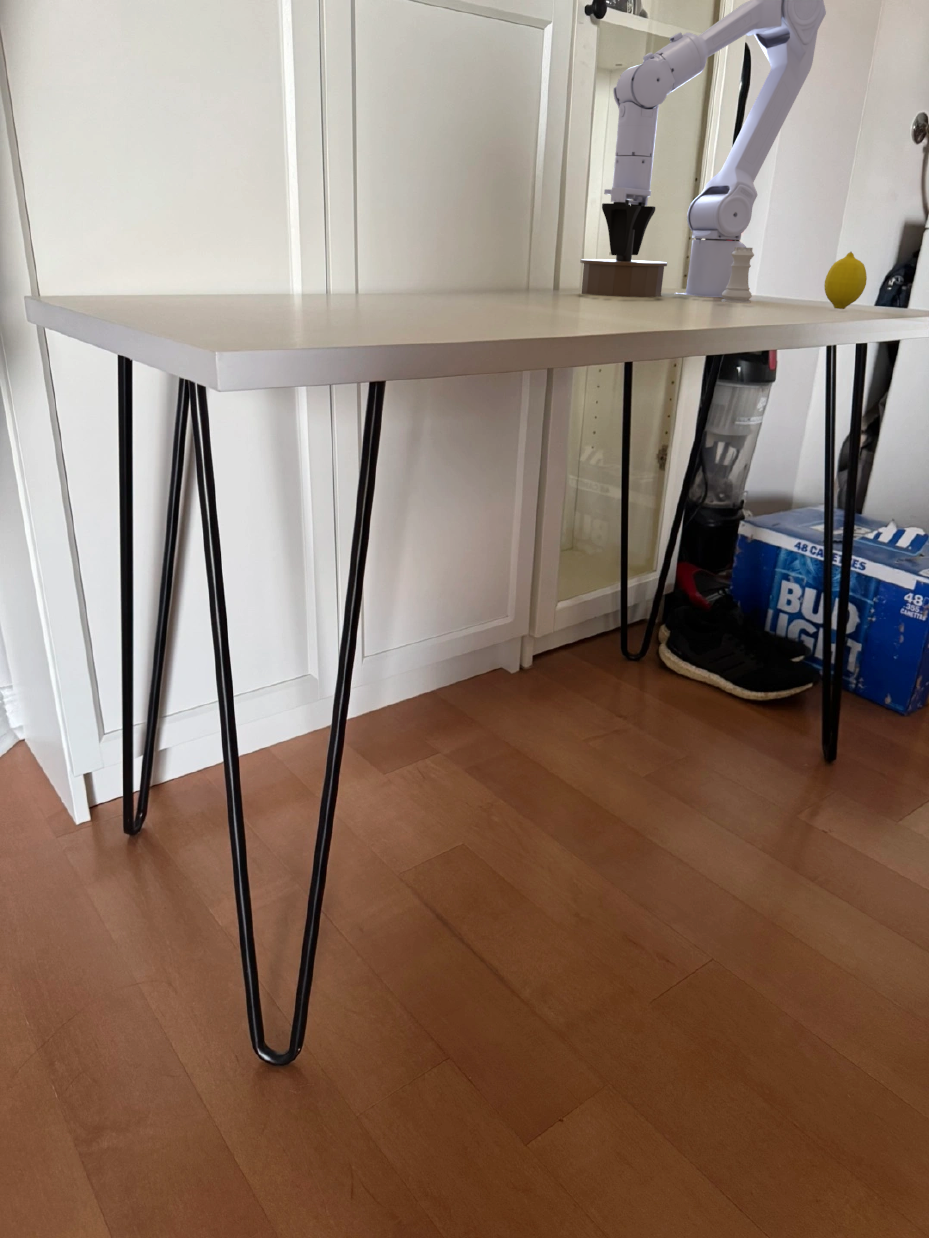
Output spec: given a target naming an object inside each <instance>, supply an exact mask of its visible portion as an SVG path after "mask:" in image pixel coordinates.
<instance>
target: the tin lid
mask: <svg viewBox="0 0 929 1238" xmlns="http://www.w3.org/2000/svg"><path fill="white" fill-rule="evenodd" d="M633 240H634V230H632V231H631V236H630V240H629V245H628V249H627V252H626V255H625V256H617V255H615V258H614V259H611V258H607V259H606V258H581V259H580V260H579V263H580V264H584V263H585V264H599V265H618V266H651V267H662V266H664V267H667V266H668V262H666V261H656V260H655V261H653V260H637V259H635V260H634V259H633V255H632V250H633Z"/></svg>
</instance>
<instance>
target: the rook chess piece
mask: <svg viewBox="0 0 929 1238" xmlns="http://www.w3.org/2000/svg"><path fill="white" fill-rule="evenodd" d="M746 247H747V246H746ZM746 247H744V248H743V247H735V249H734V251H733V253H732V254H731V255H732V257H733V264H732V265H731V266H732V273H731V276H730V280H729V283H728V285H727V287H726V290H725V291H724V292H723V293H722V297H721V298H722V299H721V300H720V302H725V303H733V304H734V303H736V304H737V303H738V304H750V303H751V304H752V302H751V301H750V299H751V298H752V297H753V295H752V293H751V291H750V287H749V286H750V285H749V272H750V268H751V266H752V265H751V260H752V259H753V257H754V256H755V253H754V252H753V249H754V248H753V247H747V248H746Z"/></svg>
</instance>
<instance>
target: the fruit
mask: <svg viewBox="0 0 929 1238" xmlns="http://www.w3.org/2000/svg"><path fill="white" fill-rule="evenodd" d="M866 269H867V268H866V266H865V264H864V263H863V262H862V261H861V260H859V259H858V258H856V257H855V254H854V253H853V252H852V251H849V252H848V253H847V254H846V255H845V256H844V257H843V258H840V259H838V260H837V261H835V262H834V263H833V264H832V265H831V267H830V268H829V270H828V271H827V274H826V276H825V280H824V284H823V285H824V287H823V288H824V293H825V296H826V298H827V299H828V301H829V302H830V303H831V304H832V305H833V308H834V309H839V310H845V309H846V308H847V307H849V306H850V305H851V304H853V303H855V302H856V301H857V300H858V299H859V298H860V297H861V296H862V294H863V293H864V290H865V288H866V286H867V279H868V277H867V270H866Z"/></svg>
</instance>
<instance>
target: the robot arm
mask: <svg viewBox="0 0 929 1238" xmlns="http://www.w3.org/2000/svg"><path fill="white" fill-rule="evenodd" d="M824 1H825V0H747V1H746V2H743V3H742V4H740V5H739V6H738V7H736V8H735V9H733V10H731V12H729V13H728V14H727V15H725V16H723V17H722V18H721V19H720V20H718V21H717V22H715V23H714V24H713V25H711V26H709V28H707V29H706V30H704V31H703V32H701V33H699V34H698V35H697V34H695V33H692V32H684V33H682V32H681V31H680V32H677V33H675V34H673V35H672V36H670V37H669V43H667V44H666V45H664V46H663V47H662V48H660V49H659V50H657V51H656V52H654V53H653V52H652V51H651V52H648V53H647V54H645V55H643V57H642V59H643V62H642V63H640V64H638V65H634V66H631V67H628V68H627V69H625V70H624V71H622V73H621V74H620V75H619V76H620V77H619V78H618V79H617V82H616V86H615V87H613V90H612V92H613V93H612V94H613V99H614V101H615V103H616V106H617V107H618V119H617V131H616V144H615V153H614V165H613V177H612V187H611V188H609V189H608V188H607V189H604V191H603V194H604V195H606V196H607V195H608V196H610V202H611V203H609V202H608V203H607V202H606V203H605V202H603V203H602V204H601V209H602V210H601V211H602V212H603V215H604V218H605V222H606V225H607V231H608V239H609V240H608V241H609V250H610V255H611V256H616V255H617V256H625V255H626V252H627V249H628V245H629V240H630V236H631V231H632V230H634V240H633V250H632V256H638V255H639V252H640V250H641V247H642V243H643V239H644V236H645V234H646V230H647V227H648V225H649V223H650V221H651V219H652V217H653V215H654V214H655V212H656V206H651V205H649V206H648V203H649V198H650V197H651V196H652V190H651V185H652V176H653V165H654V157H655V147H656V146H655V145H656V137H657V128H658V116H659V106H660V105H662V104H663V103H664V102H665V100H666V98H667V96H668V95H670V94H671V93H672V92H674V91H676V90H677V89H679V88H680V87H682V86H683V85H685V84H686V83H687V82H690V81H691V80H692V79H694V78H695V77H697V76H698V75H700V74H702V73H703V71H704V70H705V68H706V66H707V65H706V64H707V60H708V58H709V57H711V56H713V55H714V54H716V53H717V52H719V51H721V50H722V49H724V48H726V47H728V46H729V45H730V44H732V43H734V42H736V41H737V40H739V39H741V38H743V37H744V36H747V37H751V36H754V37H755V39H756V41H757V43H758V45H759V47H760V48H761V50H762V52H763V53H764V55H765V57H766V59H767V61H768V62H769V65H770V71H769V73H768V75H767V77H766V78H765V80H764V82H763V85H762V87H761V89H760V91H759V92H758V95H757V97H756V99H755V101H754V103H753V105H752V107H751V109H750V111H749V113H748V115H747V116H746V119H745V121H744V123H743V125H742V127H741V129H740V131H739V133H738V135H737V137H736V139H735V141H734V143H733V144H732V147H731V149H730V151H729V153H728V155H727V157H726V160H725V161H724V163H723V165H722V167H721V169H720V171H718V173H716V174H715V175H714V176H713V177H712V178H711V179H710V180H708V181H707V182H706V183H705V186H704V188H703V189H702V191H701V192H700V193H699V195H697V196H696V197H695V198H694V199H693V200H692V201H691V202H690V204H689V206H688V209H687V213H686V221H687V226H688V228H689V230H690V231H691V232H692V233H691V247H690V256H689V264H688V272H687V278H686V279H687V280H686V288H685V292H674V293H673V294H674V295H685V296H695V297H704V298H705V297H706V298H723V297H722V293H723V292H724V291H725V290H726V287H727V285H728V283H729V280H730V276H731V273H732V266H731V265H732V264H733V257H732V255H731V254H732V253H733V251H734V249H735V247H743V248H744V247H746V248H748V247H747V246H746V245H745V244H744V243H743V242H741V241H740V240H741V237H742V234H743V233H744V232H745V231H746V229H747V228H748V227H749V225H750V223H751V221H752V220H751V219H752V217H753V207H754V204H755V201H756V199H757V198H758V192H757V189H756V187H755V184H754V182H755V180H756V179H757V176H758V174H759V172H760V170H761V168H762V167H763V164H764V162H765V160H766V159H767V156H768V155H769V153H770V151H771V149H772V147H773V144H774V143H775V140H776V139H777V137H778V136H779V135H778V134H779V133H780V131H781V129H782V127H783V125H784V123H785V121H786V119H787V117H788V116H789V114H790V111H791V109H792V107H793V105H794V103H795V102H796V99H797V98H798V95H799V93H800V91H801V89H802V87H803V85H804V83H805V82H806V80H807V78H808V75H809V74H810V71H811V69H812V66H813V63H814V57H815V50H816V43H817V37H818V31H819V28H820V26H821V24H822V23H823V20H824V19H825V17H826V15H827V10H826V5H825V2H824Z"/></svg>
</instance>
